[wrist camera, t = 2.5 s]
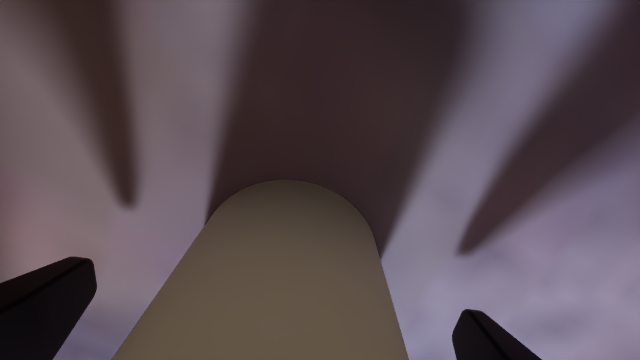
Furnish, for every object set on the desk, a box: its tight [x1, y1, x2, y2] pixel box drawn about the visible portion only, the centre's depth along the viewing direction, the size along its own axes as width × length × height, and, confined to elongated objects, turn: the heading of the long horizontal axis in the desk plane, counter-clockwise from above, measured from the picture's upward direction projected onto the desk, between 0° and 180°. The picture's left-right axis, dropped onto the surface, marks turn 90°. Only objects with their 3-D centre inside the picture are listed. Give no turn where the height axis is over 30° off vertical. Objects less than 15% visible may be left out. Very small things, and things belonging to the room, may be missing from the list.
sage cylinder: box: [112, 180, 409, 360], centre depth 6 cm, size 5×5×6 cm
